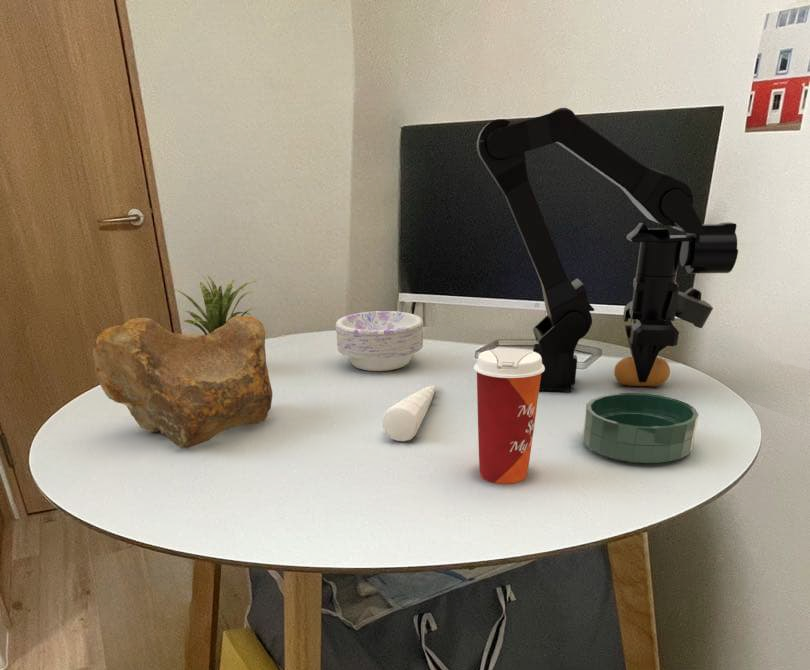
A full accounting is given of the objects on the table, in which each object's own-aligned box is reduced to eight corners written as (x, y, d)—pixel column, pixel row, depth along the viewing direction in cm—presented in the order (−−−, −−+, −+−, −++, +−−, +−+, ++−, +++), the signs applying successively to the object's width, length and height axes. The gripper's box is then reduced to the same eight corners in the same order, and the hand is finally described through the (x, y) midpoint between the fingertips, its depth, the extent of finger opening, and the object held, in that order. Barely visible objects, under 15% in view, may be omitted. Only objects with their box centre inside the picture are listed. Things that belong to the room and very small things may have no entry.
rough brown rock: (121, 474, 87) (98, 356, 79) (104, 423, 99) (83, 316, 91) (300, 446, 96) (296, 337, 88) (264, 403, 108) (258, 304, 100)
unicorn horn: (457, 390, 111) (458, 360, 109) (416, 445, 92) (415, 409, 89) (428, 388, 113) (428, 358, 110) (381, 441, 93) (380, 406, 91)
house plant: (289, 368, 125) (279, 271, 117) (233, 388, 115) (219, 283, 107) (231, 358, 132) (218, 265, 124) (174, 376, 122) (155, 277, 114)
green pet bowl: (583, 464, 85) (588, 424, 83) (581, 426, 96) (585, 391, 94) (698, 470, 83) (706, 430, 80) (682, 431, 94) (688, 395, 92)
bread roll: (613, 388, 111) (617, 360, 109) (611, 380, 115) (615, 353, 113) (669, 390, 109) (673, 362, 107) (665, 382, 113) (670, 355, 111)
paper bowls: (361, 381, 117) (359, 333, 113) (325, 361, 128) (321, 316, 125) (439, 367, 123) (439, 321, 119) (397, 349, 135) (396, 307, 131)
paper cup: (534, 490, 79) (544, 366, 72) (466, 485, 80) (470, 363, 73) (537, 463, 86) (546, 347, 79) (474, 459, 87) (478, 345, 80)
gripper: (726, 285, 94) (704, 398, 102) (702, 265, 110) (685, 363, 118) (640, 284, 96) (625, 395, 104) (629, 264, 112) (616, 361, 120)
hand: (640, 377), depth 111 cm, fingers closed on bread roll, 4 cm apart
